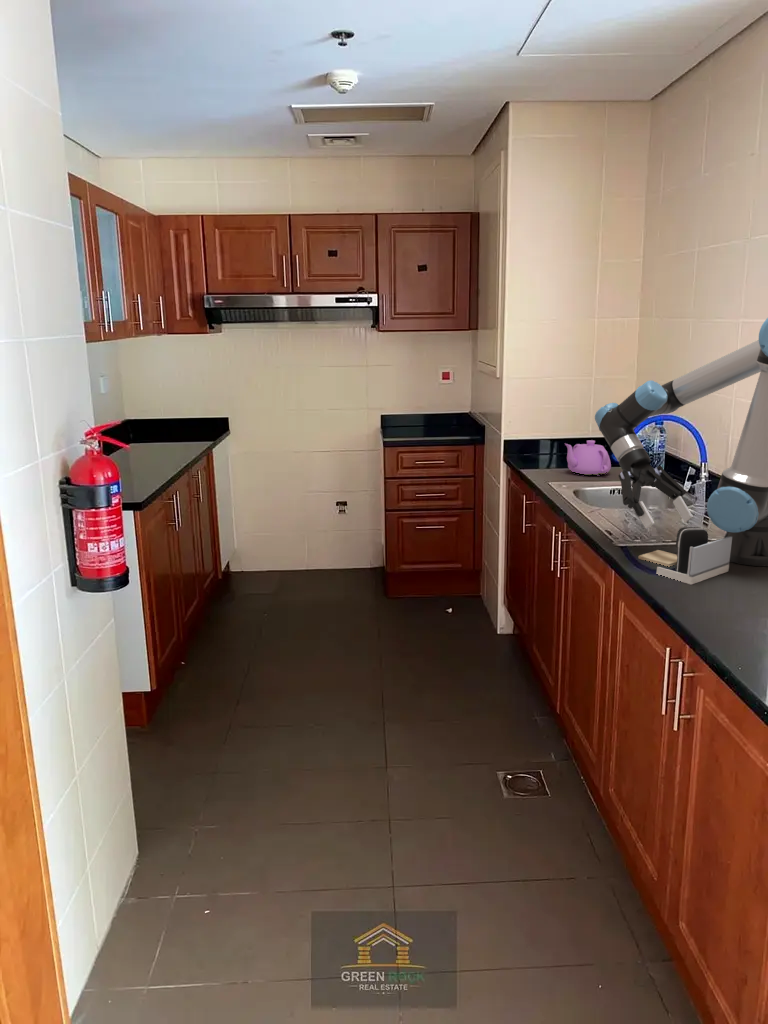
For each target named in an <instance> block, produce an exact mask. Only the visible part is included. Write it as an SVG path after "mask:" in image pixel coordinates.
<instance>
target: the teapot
mask: <svg viewBox="0 0 768 1024" xmlns="http://www.w3.org/2000/svg"><path fill="white" fill-rule="evenodd" d="M595 443H596V440H593V439H591V440H586V443H581V444H580V443H576V444H575V445H574V446H572V445H571V444H568V443H566V442H565V443H564V446H566V448H567V455H566V461H567V468H568V469H569V471H570V470H571V471H572V472H576V473H580V474H598V473H606V472H607V473H608V472H610V470H611V468H612V464H611V463H612V462H611V459H610V455H609V453H608V451H607V450H606V448H605V446H604V445H601V444H595ZM571 471H570V472H571ZM572 472H571V473H572ZM607 473H606V474H607Z"/></svg>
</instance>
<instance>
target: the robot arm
mask: <svg viewBox="0 0 768 1024" xmlns="http://www.w3.org/2000/svg"><path fill="white" fill-rule="evenodd" d="M756 374H759V376H758V378H757V383H756V385H755V389H754V392H753V394H752V399H751V402H750V404H749V407H748V411H747V415H746V417H745V420H744V424H743V428H742V430H741V434H740V438H739V440H738V443H737V446H736V450H735V452H734V456H733V460H732V462H731V465H730V466H729V467H728V468H726V469H724V470H723V471H722V472H721V476H720V480H719V482H718V485H717V488H716V489H715V490H714V491H713V492H712V493H711V494H710V496H709V498H708V500H707V503H706V511H707V515H708V518H709V519H710V521H711V522H712V524H713V525H714V526H715V527H717V528H718V529H719V530H721V531H724V532H725V534H724V536H723V538H726V537H729V536H731V537H732V544H731V552H730V561H729V563H730V562H731V563H735V564H739V565H743V566H744V565H745V566H753V567H768V317H767V318H766V319H765V320H764V322H763V323H762V325H761V326H760V329H759V333H758V340H755V341H752V342H751V343H749V344H747V345H745V346H742V347H741V348H737V349H736V350H734V351H732V352H730V353H728V354H726V355H724V356H721V357H719V358H717V359H715V360H712V361H711V362H709V363H707V364H704V365H703V366H702V365H701V366H700V367H698V368H696V369H694V370H691V371H689V372H687V373H686V374H685V373H684V375H681V376H679V377H677V378H674V379H672V380H671V381H668V382H666V383H664V384H662V385H661V384H660V383H658V382H657V381H654V380H653V379H652V380H651V379H650V380H647V381H646V382H645V383H643V384H642V385H639V386H638V387H637V388H636V389H635V390H634V391H633V392H632V393H631V394H630V395H629V396H628V397H626V398H625V399H624V400H623V401H622V402H621V403H620V404H618V403H616V402H610V403H608V404H605V405H604V406H601V407H600V408H598V410H596V412H595V414H594V421H595V423H596V425H597V428H598V430H599V431H600V433H601V434H602V435H603V437H604V439H605V441H606V442H607V444H608V446H609V448H610V450H611V452H612V453H613V455H614V457H615V459H616V461H617V462H618V465H619V466H620V468H621V470H622V471H621V472H620V473H619V474H618V478H619V480H620V483H621V484H620V485H621V496H622V504H623V505H624V506H627V508H629V509H633V511H634V512H635V514H636V515H637V517H639V519H640V521H641V522H642V523H641V524H642V525H643V526H644V528H645V530H647V529H648V530H649V528H651V527H652V526H653V525H654V524H655V521H654V519H653V518H652V515H651V513H650V512H649V510H648V508H647V507H646V505H645V503H644V502H643V500H641V501H640V498H641V492H642V488H643V487H652V488H656V489H657V490H658V491H660V492H661V493H663V494H665V496H667V497H669V498H670V499H672V500H673V501H672V504H673V506H674V507H675V509H676V511H677V512H678V514H679V516H680V517H681V519H682V521H683V522H684V523H685V524H686V523H688V522H689V521H690V520H692V519H693V518H694V516H693V514H692V512H691V511H690V509H689V507H688V504H687V502H686V501H685V499H684V497H683V496H685V494H686V493H687V491H686V489H685V488H684V487H682V486H681V485H680V483H678V482H677V481H675V479H674V478H673V477H671V476H670V475H669V474H668V473H667V472H666V470H665V469H664V467H662V465H658V466H657V467H656V468H654V467H653V466H652V465H651V461H652V460H651V458H650V455H649V454H648V453H647V451H646V449H644V445H643V444H642V442H641V440H640V438H639V437H638V435H637V434H636V432H635V429H636V428H637V427H638V426H639V425H640V424H642V423H643V422H644V421H646V420H647V419H648V418H650V417H653V416H659V415H667V414H670V413H673V412H675V411H678V409H680V408H682V407H684V406H686V405H688V404H690V403H693V402H695V401H697V400H699V399H702V398H704V397H706V396H709V395H711V394H714V393H715V392H717V391H720V390H722V389H724V388H726V387H729V386H732V385H734V384H736V383H738V382H741V381H743V380H745V379H748V378H750V377H751V376H755V375H756ZM631 481H632V482H631ZM684 523H683V524H684Z"/></svg>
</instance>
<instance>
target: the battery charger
mask: <svg viewBox="0 0 768 1024" xmlns="http://www.w3.org/2000/svg"><path fill="white" fill-rule="evenodd" d="M706 543H709V534H708V531H707V530H706V529H704V528H701V527H698V526H697V527H696V526H694V527H693V526H692V527H691V526H688V527H687V526H686V527H681V528H679V529H678V530H677V535H676V541H675V547H676V548H677V550H676V551H677V552H676V553H677V554H676V555H677V563H676V565H675V569H674V571H676V572H679V573H683V574H687V572H688V562H689V552H690V547H697V546H700V545H703V544H706Z"/></svg>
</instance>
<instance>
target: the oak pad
mask: <svg viewBox="0 0 768 1024" xmlns="http://www.w3.org/2000/svg"><path fill="white" fill-rule="evenodd" d="M638 560H642V561H645V560H646V561H645V562H649V561H650V563H652V562H653V564H656V563H657V564H656V565H659V564H661V565H660V566H663V565H664V567H667V566H668V567H667V568H670V566H671V567H674V566H676V563H677V554H675V553H673V552H672V553H671V552H667V551H664V550H659V549H656V550H653V551H651V552H647V553H643V554H640V555H638ZM673 565H674V566H673Z"/></svg>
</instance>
